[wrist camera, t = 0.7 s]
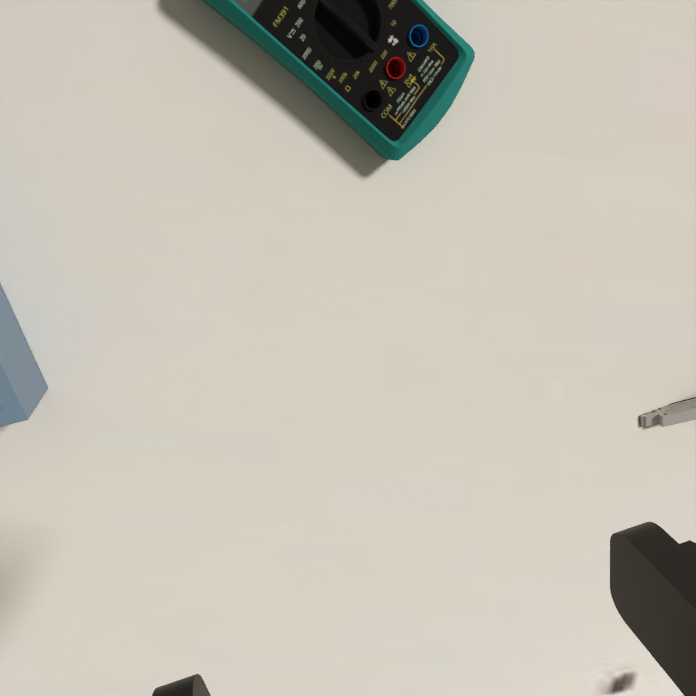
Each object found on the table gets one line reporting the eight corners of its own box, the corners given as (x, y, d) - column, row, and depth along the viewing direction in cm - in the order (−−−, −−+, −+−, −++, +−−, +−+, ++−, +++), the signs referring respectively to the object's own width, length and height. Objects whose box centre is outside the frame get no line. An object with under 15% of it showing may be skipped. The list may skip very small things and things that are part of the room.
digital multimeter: (392, 167, 34) (407, 170, 31) (178, -18, 28) (174, -33, 26) (467, 64, 33) (490, 59, 30) (261, -150, 27) (266, -181, 24)
